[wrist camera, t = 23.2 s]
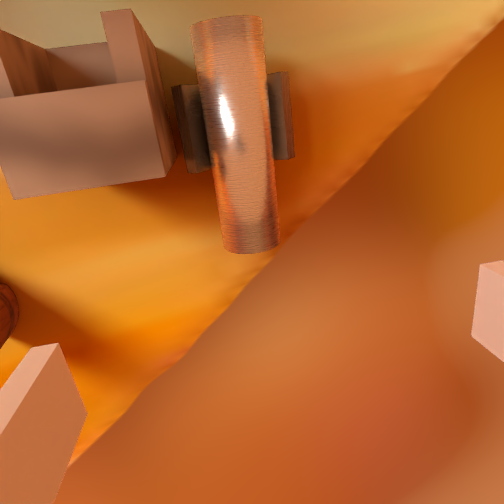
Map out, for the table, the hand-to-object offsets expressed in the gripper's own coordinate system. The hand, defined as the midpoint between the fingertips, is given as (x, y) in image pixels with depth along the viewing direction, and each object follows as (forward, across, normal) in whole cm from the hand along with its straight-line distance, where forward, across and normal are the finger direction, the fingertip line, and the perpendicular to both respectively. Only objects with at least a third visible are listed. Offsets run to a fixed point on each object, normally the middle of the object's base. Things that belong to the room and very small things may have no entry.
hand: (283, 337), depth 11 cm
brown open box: (+29, -9, +8) cm, 31 cm away
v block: (+29, +2, +6) cm, 29 cm away
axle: (+25, +2, +4) cm, 25 cm away
